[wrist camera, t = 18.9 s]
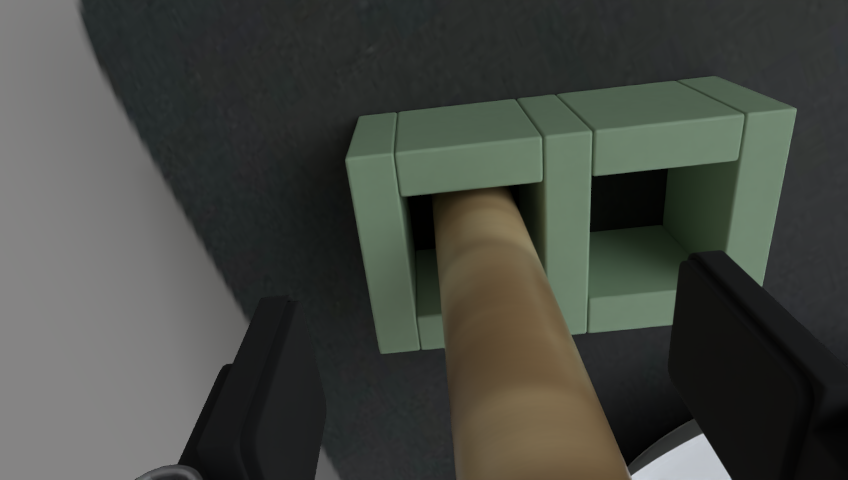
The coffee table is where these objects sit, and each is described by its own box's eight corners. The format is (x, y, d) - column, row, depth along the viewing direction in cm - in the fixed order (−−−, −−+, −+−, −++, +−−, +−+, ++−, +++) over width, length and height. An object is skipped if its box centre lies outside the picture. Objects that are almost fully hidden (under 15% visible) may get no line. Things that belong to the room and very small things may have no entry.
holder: (385, 283, 20) (379, 355, 16) (357, 115, 17) (344, 158, 14) (693, 250, 19) (756, 317, 16) (715, 75, 17) (798, 107, 13)
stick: (435, 223, 19) (475, 657, 7) (426, 155, 18) (457, 537, 6) (506, 214, 19) (663, 640, 7) (502, 146, 18) (679, 514, 6)
